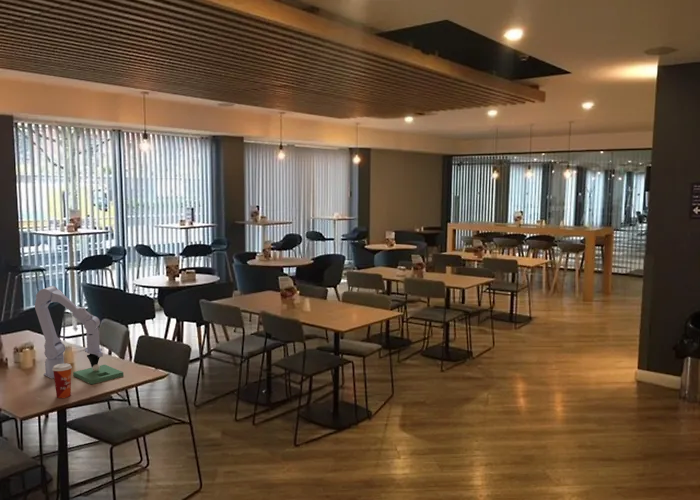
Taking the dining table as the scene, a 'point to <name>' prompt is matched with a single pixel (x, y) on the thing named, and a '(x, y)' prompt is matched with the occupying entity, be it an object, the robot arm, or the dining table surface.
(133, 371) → the dining table surface
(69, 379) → the paper cup
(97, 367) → the ball
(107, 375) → the putting deck
